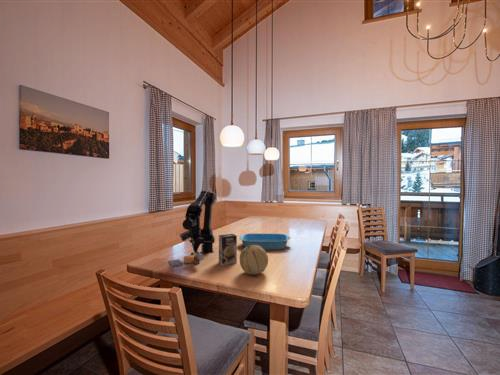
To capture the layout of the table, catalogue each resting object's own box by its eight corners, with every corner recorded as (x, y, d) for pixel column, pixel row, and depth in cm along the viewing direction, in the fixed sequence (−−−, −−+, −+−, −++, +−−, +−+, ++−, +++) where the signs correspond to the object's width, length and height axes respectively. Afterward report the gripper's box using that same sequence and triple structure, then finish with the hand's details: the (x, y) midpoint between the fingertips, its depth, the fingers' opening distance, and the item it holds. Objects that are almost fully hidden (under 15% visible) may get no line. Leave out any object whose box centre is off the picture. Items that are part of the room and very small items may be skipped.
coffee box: (222, 265, 131) (222, 237, 130) (218, 262, 137) (218, 234, 136) (237, 263, 135) (237, 235, 135) (232, 259, 141) (232, 233, 140)
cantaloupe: (274, 273, 120) (274, 244, 120) (254, 282, 110) (253, 250, 109) (253, 265, 131) (253, 239, 130) (233, 273, 120) (233, 244, 120)
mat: (179, 260, 140) (179, 259, 140) (183, 265, 132) (183, 264, 132) (168, 262, 137) (168, 260, 137) (172, 267, 129) (172, 266, 129)
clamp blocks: (194, 258, 143) (194, 252, 142) (199, 263, 134) (199, 256, 134) (190, 259, 141) (190, 252, 141) (195, 264, 133) (195, 257, 133)
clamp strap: (197, 254, 137) (197, 250, 136) (203, 259, 128) (203, 255, 127) (193, 255, 135) (193, 251, 135) (199, 260, 126) (199, 256, 126)
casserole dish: (237, 250, 160) (237, 240, 160) (241, 241, 183) (241, 232, 182) (291, 251, 157) (291, 241, 157) (289, 242, 179) (289, 233, 179)
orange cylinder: (198, 260, 141) (198, 253, 141) (200, 261, 138) (200, 254, 138) (183, 263, 137) (183, 256, 137) (185, 264, 133) (185, 257, 134)
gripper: (177, 224, 140) (177, 250, 141) (185, 230, 124) (185, 259, 125) (195, 223, 146) (195, 247, 146) (205, 228, 130) (205, 256, 130)
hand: (195, 252), depth 137 cm, fingers closed
